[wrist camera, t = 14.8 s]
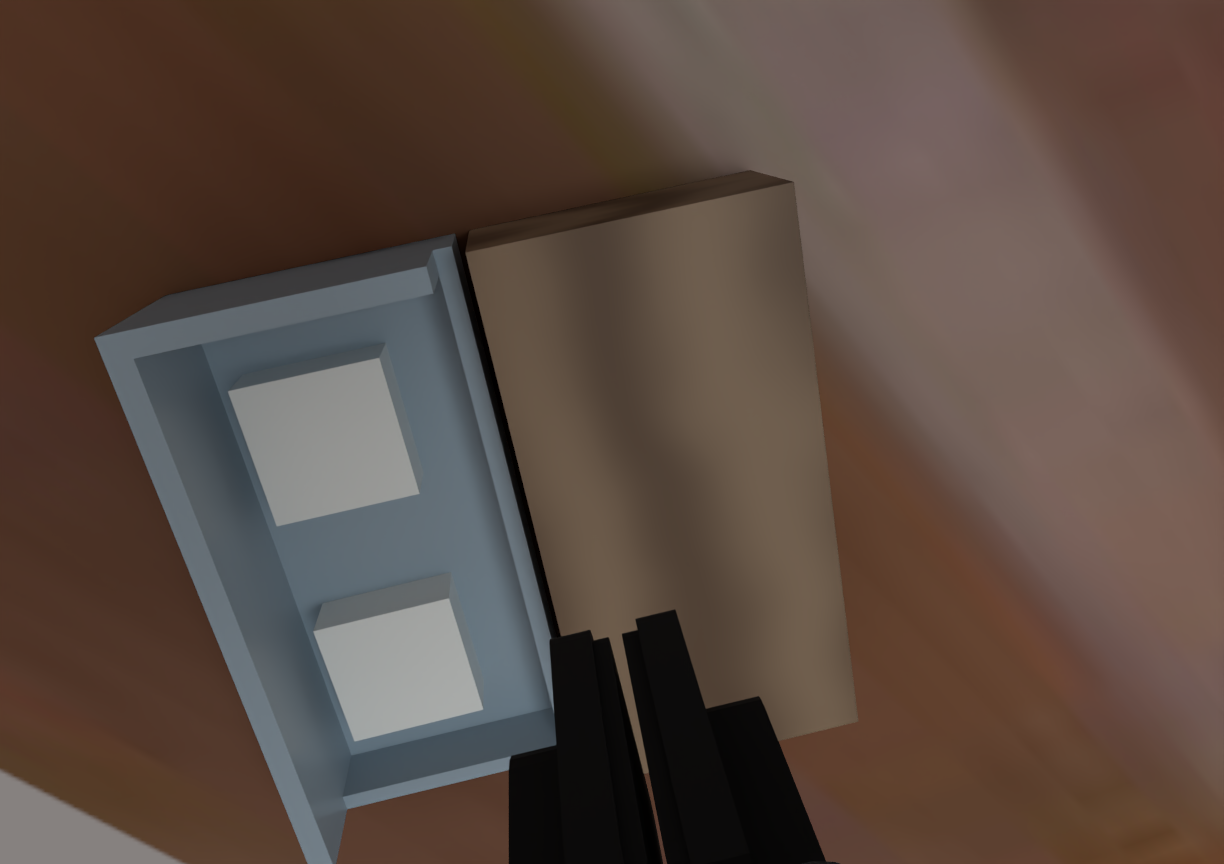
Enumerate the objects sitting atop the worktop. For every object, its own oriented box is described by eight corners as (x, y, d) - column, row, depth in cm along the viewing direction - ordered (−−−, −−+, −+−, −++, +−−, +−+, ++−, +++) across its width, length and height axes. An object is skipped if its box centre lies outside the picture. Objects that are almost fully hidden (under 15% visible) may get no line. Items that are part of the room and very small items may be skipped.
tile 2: (313, 631, 33) (322, 603, 35) (354, 741, 35) (361, 709, 37) (448, 598, 34) (450, 572, 35) (483, 709, 35) (483, 679, 37)
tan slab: (750, 170, 32) (793, 182, 28) (814, 647, 39) (858, 721, 35) (469, 230, 32) (465, 252, 27) (585, 702, 39) (598, 784, 34)
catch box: (455, 233, 32) (446, 261, 26) (573, 705, 39) (587, 807, 33) (165, 295, 31) (93, 337, 26) (338, 761, 38) (312, 874, 33)
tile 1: (227, 391, 30) (243, 374, 32) (276, 526, 32) (288, 503, 34) (379, 357, 30) (385, 342, 32) (419, 493, 32) (423, 472, 34)
